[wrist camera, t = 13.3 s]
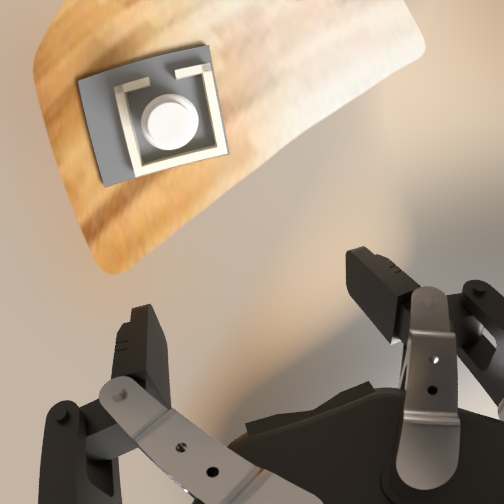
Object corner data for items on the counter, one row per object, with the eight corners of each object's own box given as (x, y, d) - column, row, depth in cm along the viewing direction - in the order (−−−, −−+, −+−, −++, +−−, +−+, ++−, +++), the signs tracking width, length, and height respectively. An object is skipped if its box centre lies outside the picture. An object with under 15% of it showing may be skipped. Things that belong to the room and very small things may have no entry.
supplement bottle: (143, 100, 33) (133, 99, 24) (190, 91, 34) (196, 87, 25) (150, 145, 36) (143, 159, 27) (196, 136, 37) (204, 148, 28)
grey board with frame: (208, 46, 33) (210, 42, 30) (228, 152, 39) (232, 156, 37) (80, 81, 31) (73, 80, 28) (106, 185, 37) (101, 192, 35)
